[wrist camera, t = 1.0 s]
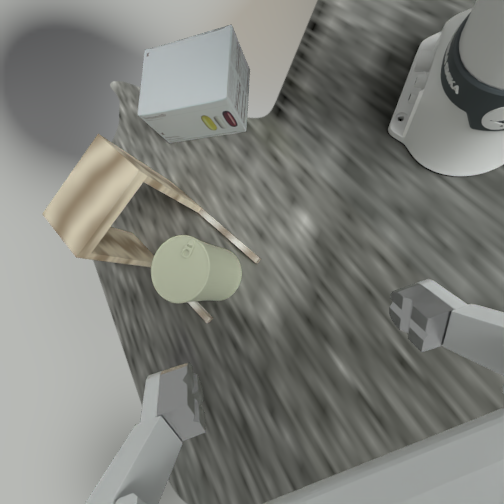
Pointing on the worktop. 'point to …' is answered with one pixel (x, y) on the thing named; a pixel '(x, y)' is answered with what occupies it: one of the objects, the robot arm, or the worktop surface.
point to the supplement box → (196, 87)
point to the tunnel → (113, 208)
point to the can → (194, 271)
